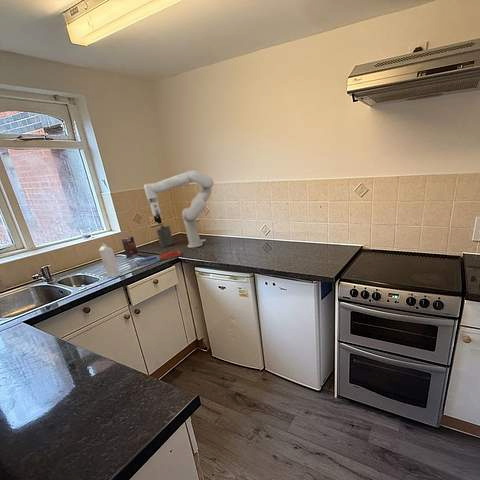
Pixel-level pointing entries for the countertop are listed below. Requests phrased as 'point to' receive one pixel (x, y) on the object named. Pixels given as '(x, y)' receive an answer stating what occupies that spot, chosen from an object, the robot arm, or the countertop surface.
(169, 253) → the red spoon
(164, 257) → the terracotta tray
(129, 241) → the supplement box
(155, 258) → the blue spoon
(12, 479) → the countertop surface
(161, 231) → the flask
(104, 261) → the milk
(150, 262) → the pale blue tray
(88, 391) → the countertop surface
